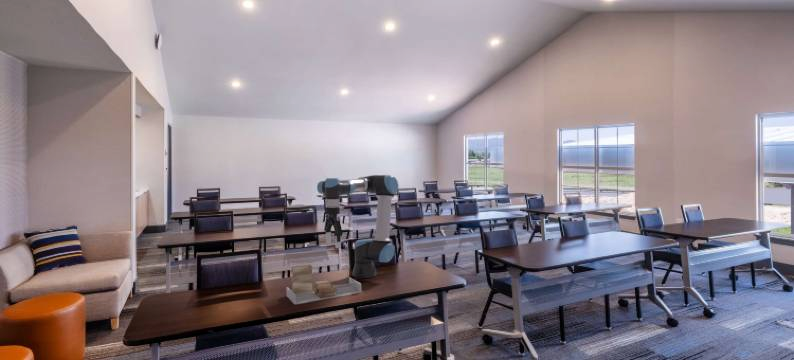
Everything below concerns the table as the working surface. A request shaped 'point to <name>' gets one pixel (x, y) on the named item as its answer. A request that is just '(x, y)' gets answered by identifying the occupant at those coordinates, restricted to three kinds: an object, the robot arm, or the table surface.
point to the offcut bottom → (324, 294)
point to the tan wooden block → (302, 280)
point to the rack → (340, 291)
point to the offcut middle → (326, 290)
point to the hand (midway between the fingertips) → (333, 246)
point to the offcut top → (323, 285)
